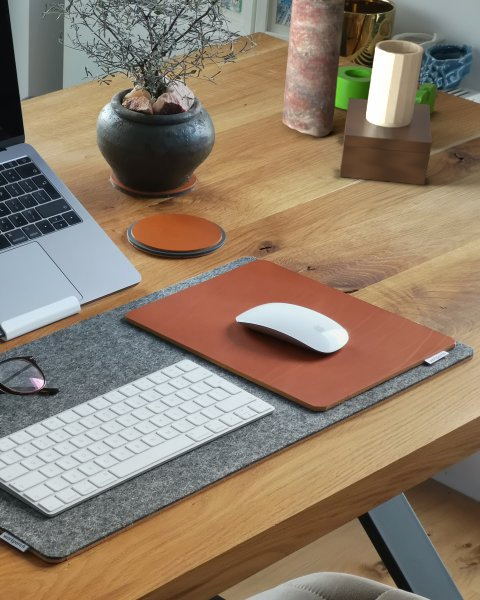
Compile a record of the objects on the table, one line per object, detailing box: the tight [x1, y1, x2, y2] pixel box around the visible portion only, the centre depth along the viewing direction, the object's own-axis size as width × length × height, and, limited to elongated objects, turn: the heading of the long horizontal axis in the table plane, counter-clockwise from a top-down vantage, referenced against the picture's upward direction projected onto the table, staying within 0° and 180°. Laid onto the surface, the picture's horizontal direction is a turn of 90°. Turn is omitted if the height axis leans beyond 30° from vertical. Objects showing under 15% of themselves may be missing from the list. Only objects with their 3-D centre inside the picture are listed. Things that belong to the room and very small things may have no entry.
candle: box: [282, 0, 346, 137], centre depth 158 cm, size 8×7×20 cm
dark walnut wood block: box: [338, 98, 433, 186], centre depth 152 cm, size 11×14×6 cm
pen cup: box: [366, 39, 424, 127], centre depth 148 cm, size 6×6×10 cm
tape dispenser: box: [335, 65, 438, 115], centre depth 169 cm, size 15×7×5 cm, turn 54°
